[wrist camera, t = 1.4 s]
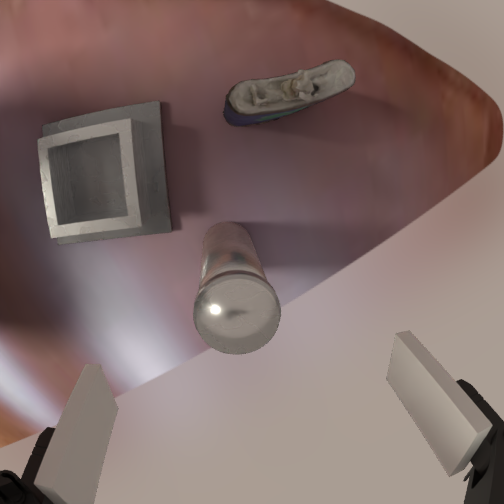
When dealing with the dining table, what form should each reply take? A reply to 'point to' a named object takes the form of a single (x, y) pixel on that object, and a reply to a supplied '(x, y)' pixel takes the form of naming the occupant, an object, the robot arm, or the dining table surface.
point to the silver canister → (234, 293)
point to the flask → (286, 93)
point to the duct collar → (105, 175)
